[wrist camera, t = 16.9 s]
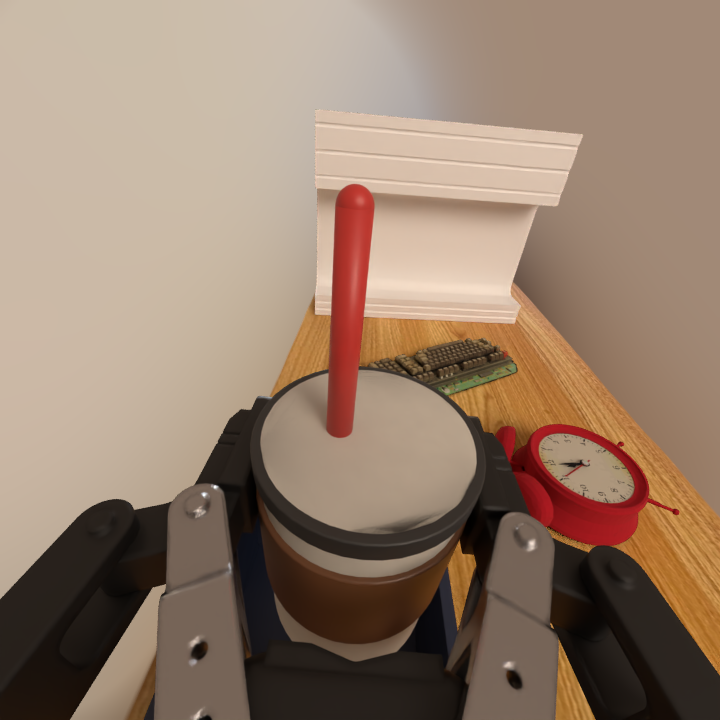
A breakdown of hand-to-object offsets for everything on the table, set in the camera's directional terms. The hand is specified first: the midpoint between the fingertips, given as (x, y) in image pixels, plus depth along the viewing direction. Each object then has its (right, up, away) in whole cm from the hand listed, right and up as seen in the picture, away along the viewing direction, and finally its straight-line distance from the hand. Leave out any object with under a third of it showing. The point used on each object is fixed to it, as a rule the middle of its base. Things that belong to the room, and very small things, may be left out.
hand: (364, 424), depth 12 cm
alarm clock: (+17, -10, +19) cm, 28 cm away
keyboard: (+11, +1, +34) cm, 36 cm away
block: (+9, +11, +50) cm, 52 cm away
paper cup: (-1, -6, +1) cm, 6 cm away
